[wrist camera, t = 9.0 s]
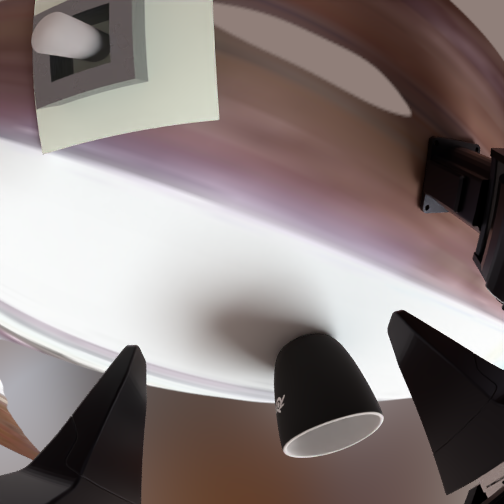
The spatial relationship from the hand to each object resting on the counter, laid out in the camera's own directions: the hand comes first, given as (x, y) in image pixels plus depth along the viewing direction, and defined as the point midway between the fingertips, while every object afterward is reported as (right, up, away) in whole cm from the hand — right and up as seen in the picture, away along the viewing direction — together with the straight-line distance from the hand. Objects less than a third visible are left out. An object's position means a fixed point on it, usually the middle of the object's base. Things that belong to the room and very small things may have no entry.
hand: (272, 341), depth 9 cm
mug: (+5, -9, +20) cm, 23 cm away
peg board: (-9, +16, +4) cm, 18 cm away
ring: (-10, +15, +3) cm, 18 cm away
